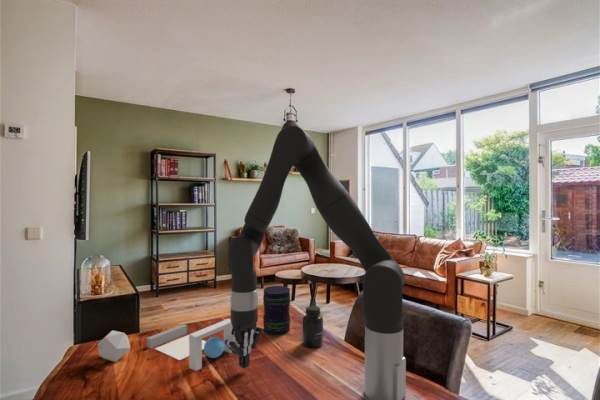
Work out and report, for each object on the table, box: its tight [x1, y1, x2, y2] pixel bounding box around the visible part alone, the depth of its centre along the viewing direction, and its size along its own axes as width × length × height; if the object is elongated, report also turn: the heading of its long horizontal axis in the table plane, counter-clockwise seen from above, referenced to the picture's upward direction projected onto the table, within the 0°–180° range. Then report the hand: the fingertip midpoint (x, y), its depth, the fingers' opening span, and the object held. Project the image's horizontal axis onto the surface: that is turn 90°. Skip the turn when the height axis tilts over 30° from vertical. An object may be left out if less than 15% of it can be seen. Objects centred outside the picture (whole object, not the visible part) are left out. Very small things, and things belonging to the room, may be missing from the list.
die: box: [97, 330, 131, 363], centre depth 103 cm, size 8×9×10 cm
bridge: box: [188, 318, 233, 372], centre depth 103 cm, size 3×15×10 cm, turn 145°
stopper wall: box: [146, 324, 188, 349], centre depth 116 cm, size 2×14×3 cm, turn 145°
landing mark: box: [154, 334, 207, 361], centre depth 111 cm, size 13×13×1 cm
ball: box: [203, 336, 224, 359], centre depth 104 cm, size 6×6×6 cm
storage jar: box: [262, 285, 291, 337], centre depth 124 cm, size 10×10×15 cm
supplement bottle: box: [302, 305, 324, 349], centre depth 113 cm, size 7×7×12 cm
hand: (244, 366), depth 95 cm, fingers closed
